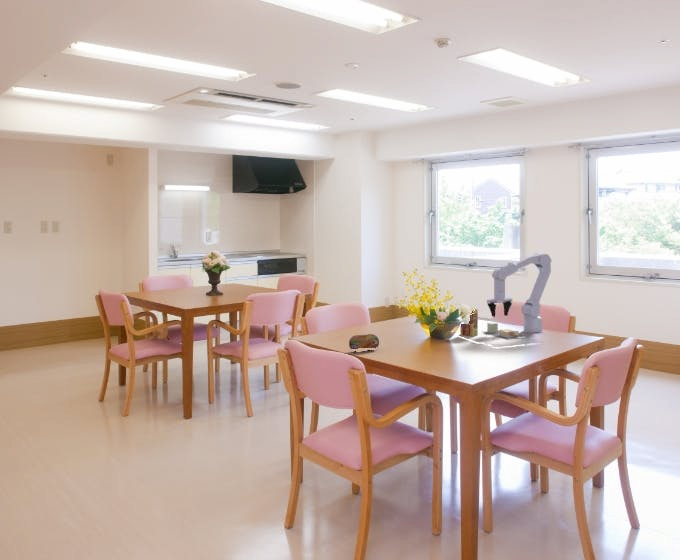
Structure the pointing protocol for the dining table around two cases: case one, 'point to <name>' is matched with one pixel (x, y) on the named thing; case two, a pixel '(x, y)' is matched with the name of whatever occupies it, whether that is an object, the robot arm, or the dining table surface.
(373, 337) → the tin
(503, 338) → the slate mat
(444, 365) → the dining table surface
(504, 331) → the cream base block
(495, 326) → the sage block
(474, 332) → the candy box
